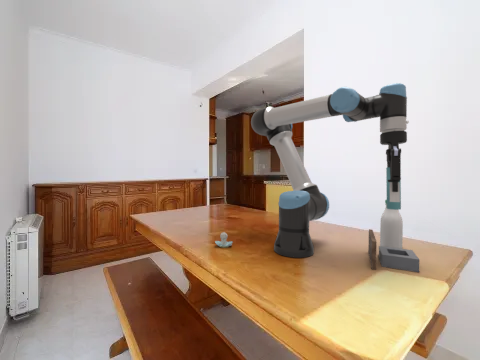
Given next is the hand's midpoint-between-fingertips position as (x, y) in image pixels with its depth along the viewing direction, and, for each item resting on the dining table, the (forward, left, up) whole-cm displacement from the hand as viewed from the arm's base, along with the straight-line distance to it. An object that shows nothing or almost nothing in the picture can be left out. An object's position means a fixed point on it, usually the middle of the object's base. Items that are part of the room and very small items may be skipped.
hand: (393, 201), depth 78 cm
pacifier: (-61, -9, -22) cm, 65 cm away
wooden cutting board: (-6, 0, -21) cm, 22 cm away
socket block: (+1, 0, -21) cm, 21 cm away
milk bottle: (+2, +19, -22) cm, 29 cm away
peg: (0, 0, -3) cm, 3 cm away
